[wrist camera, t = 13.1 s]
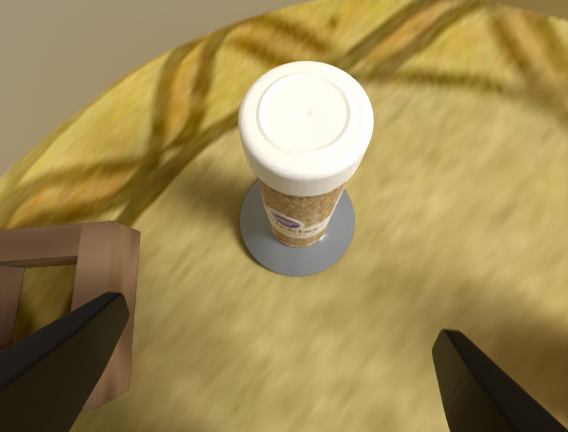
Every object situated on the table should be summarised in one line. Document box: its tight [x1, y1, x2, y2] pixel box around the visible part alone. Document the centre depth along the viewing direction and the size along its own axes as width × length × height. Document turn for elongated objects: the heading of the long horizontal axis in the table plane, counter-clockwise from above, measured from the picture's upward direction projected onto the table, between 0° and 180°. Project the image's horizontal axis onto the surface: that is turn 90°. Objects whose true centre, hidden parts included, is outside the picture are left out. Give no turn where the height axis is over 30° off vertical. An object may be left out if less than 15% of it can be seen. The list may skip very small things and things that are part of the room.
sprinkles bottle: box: [238, 61, 373, 248], centre depth 16 cm, size 5×5×13 cm
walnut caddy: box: [0, 221, 140, 410], centre depth 20 cm, size 12×12×4 cm
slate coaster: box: [240, 181, 355, 277], centre depth 22 cm, size 9×9×1 cm
